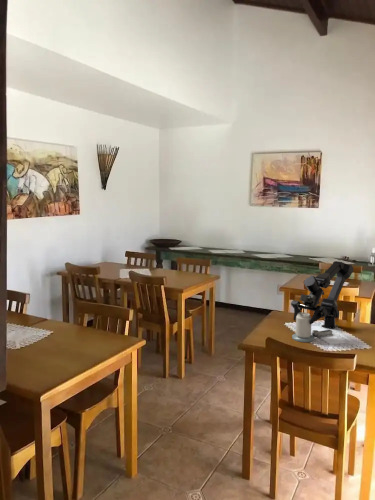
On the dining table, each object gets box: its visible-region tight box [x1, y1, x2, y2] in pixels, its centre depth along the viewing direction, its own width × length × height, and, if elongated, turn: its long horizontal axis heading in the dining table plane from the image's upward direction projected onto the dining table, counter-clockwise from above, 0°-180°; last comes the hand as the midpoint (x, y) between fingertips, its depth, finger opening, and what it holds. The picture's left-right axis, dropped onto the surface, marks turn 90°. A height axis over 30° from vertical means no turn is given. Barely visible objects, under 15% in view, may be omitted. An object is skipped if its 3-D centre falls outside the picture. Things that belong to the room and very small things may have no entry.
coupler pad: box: [291, 332, 315, 343], centre depth 211 cm, size 11×11×1 cm
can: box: [295, 312, 312, 338], centre depth 210 cm, size 8×8×12 cm
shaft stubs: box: [311, 329, 333, 338], centre depth 218 cm, size 10×19×3 cm, turn 48°
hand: (301, 322), depth 209 cm, fingers open, 9 cm apart
